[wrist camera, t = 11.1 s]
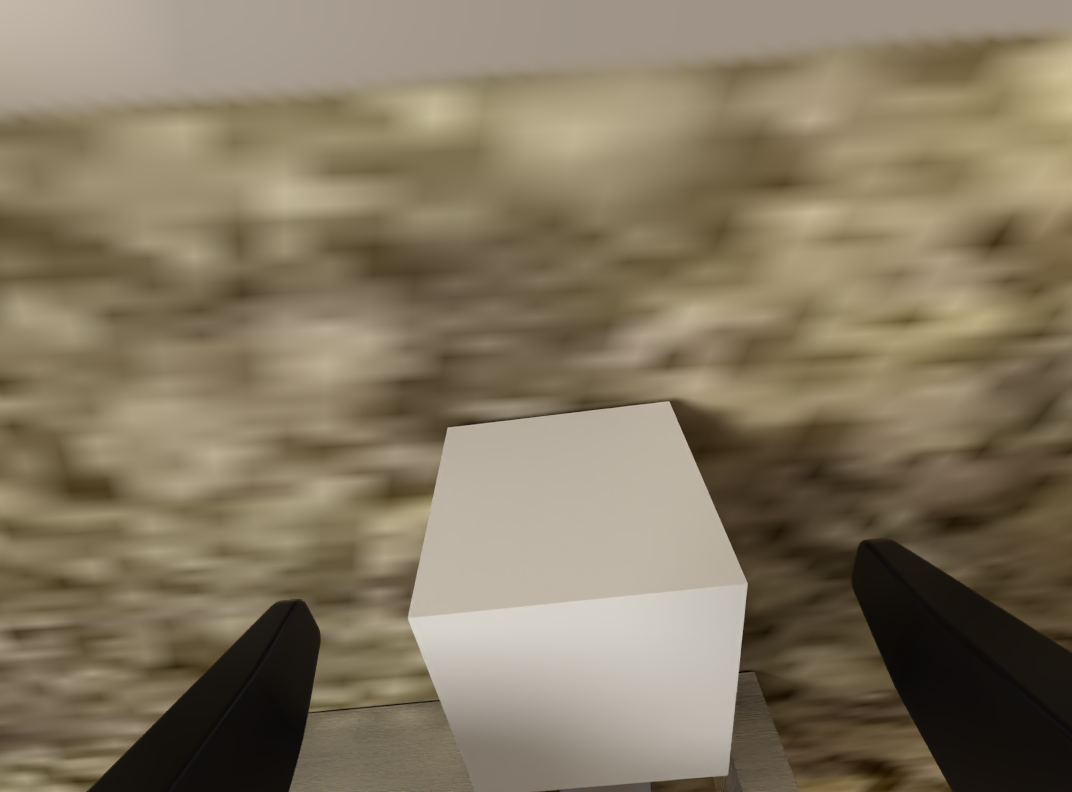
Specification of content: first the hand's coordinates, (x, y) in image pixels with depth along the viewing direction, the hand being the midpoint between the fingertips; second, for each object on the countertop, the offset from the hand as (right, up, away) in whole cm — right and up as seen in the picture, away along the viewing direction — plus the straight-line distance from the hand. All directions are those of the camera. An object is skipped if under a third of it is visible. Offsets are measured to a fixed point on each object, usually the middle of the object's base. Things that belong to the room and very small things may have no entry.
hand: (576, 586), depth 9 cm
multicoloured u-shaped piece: (+1, -5, +5) cm, 7 cm away
